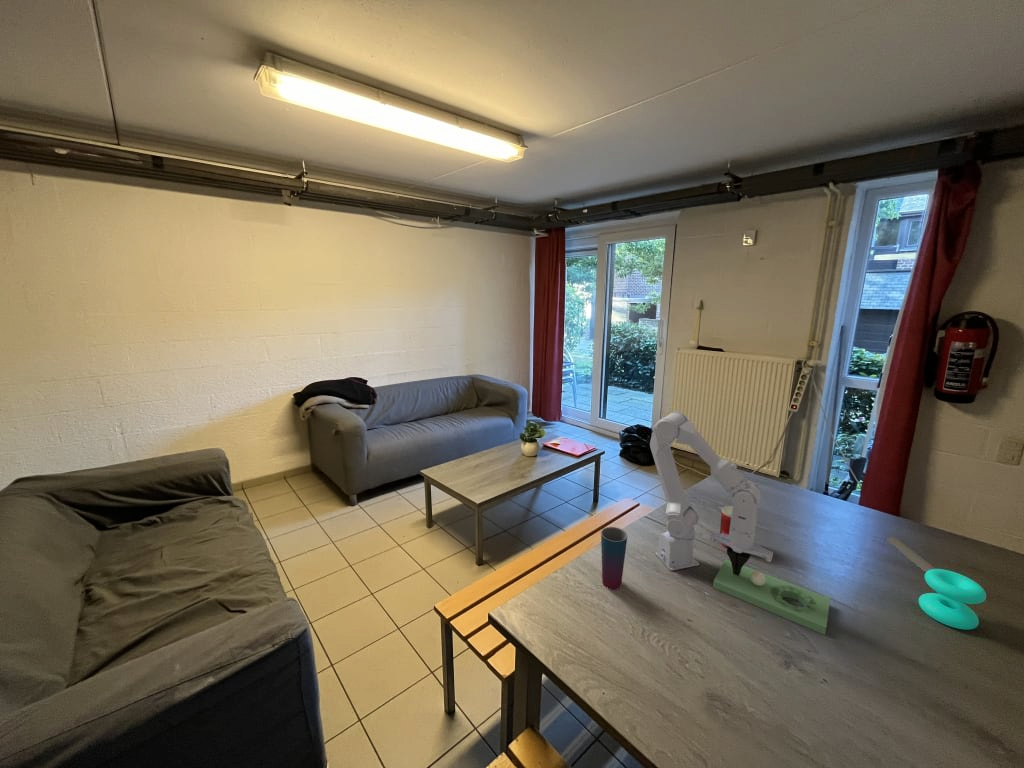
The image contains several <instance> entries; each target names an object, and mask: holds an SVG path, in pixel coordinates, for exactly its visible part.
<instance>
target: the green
mask: <svg viewBox="0 0 1024 768" xmlns="http://www.w3.org/2000/svg"><path fill="white" fill-rule="evenodd" d="M723 561H724V562H723V563H722V564H721V567H720V569H719V571H718V572H717V574H716V576H715V578H714V579H713V585H712V588H714V589H716V590H718V591H721V592H722V593H725V594H727V595H730V596H732V597H735V598H737V599H740V600H741V601H744V602H746V603H749V604H751V605H753V606H756V607H758V608H760V609H762V610H766V611H768V612H770V613H773V614H774V615H776V616H778V617H779V616H780V618H781V617H782V618H784V619H785V620H789V621H790V622H793V623H795V624H798V625H801V626H802V627H805V628H807V629H810V630H812V631H815V632H817V633H819V634H821V635H824V636H825V635H826V632H827V626H828V619H829V610H830V602H831V597H828V596H825V595H822V594H819V593H816V592H814V591H811V590H809V589H806V588H803V587H801V586H798V585H796V584H794V583H790V582H788V581H785V580H782V579H780V578H777V577H774V576H772V575H769V574H766V573H764V572H761V571H760V572H761V573H762V574H763V575H764V576H765V578H766V582H765V584H764V585H762V586H757V585H755V584H754V583H753V582H752V581H751V579H750V575H751V573H752V572H754V571H757V570H755V569H754V568H751V567H748V566H745V565H743V567H742V568H741V572H740V574H739V576H737V575H735V574H733V568H732V564H731V561H730V559H727V558H725V559H724V560H723ZM783 598H789V599H792V600H795V601H797V602H798V603H800V604H801V605H803V606H797V605H793V604H791V603H789V602H787V601H786V600H785V599H783Z"/></svg>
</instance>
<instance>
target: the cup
mask: <svg viewBox="0 0 1024 768" xmlns="http://www.w3.org/2000/svg"><path fill="white" fill-rule="evenodd" d="M600 537H601V538H600V540H601V541H600V542H601V546H600V547H601V582H602V583H601V584H602V585H603V586H604V588H607V587H608V588H607V589H609V588H611V589H610V590H618V589H620V588H621V587H620V586H622V580H623V573H624V564H625V560H626V559H625V558H626V550H627V545H628V543H627V542H628V533H627V532H626V531H625V530H624V529H622V528H620V527H616V526H607V527H605V528H603V529H601V531H600ZM617 588H618V589H617Z"/></svg>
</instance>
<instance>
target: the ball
mask: <svg viewBox="0 0 1024 768" xmlns="http://www.w3.org/2000/svg"><path fill="white" fill-rule="evenodd" d="M762 573H763V572H762ZM762 573H761V571H759V570H756V571H754V572H752V573H751V575H750V579H751V581H752V582H753V583H754V584H755V585H757V586H762V585H764V584H765V582H766V578H765V576H764V575H763V574H762Z"/></svg>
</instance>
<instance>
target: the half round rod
mask: <svg viewBox="0 0 1024 768" xmlns="http://www.w3.org/2000/svg"><path fill="white" fill-rule="evenodd" d="M886 540H887V541H889V542H888V543H889V544H890V543H891V544H892V545H893V546H895V547H896V548H897V549H899V551H898V552H900V551H901V552H902V553H903V554H904V555H905V556H904V557H906V558H907V559H908V560H909V559H910V560H909V561H910V562H912V563H913V562H914V563H915V564H916V565H915V564H914V563H913V564H914V565H915V566H917V567H918V568H919V567H920V568H921V569H920V568H919V569H920V570H922V571H923V572H924V571H925V572H927V571H928V570H931V569H937V568H936V567H935V566H933V564H931V563H930V562H928V561H927V560H926V559H924V558H923V557H922V556H921V555H919V554H918V553H917V552H916V551H914V550H913V549H912V548H911V547H909V546H908V545H906V543H904V542H902V541H901V540H900V539H898V538H897V537H894V536H891V537H888V538H887V539H886ZM887 541H886V542H887ZM891 544H890V545H891ZM892 545H891V546H892ZM893 546H892V547H893ZM895 547H894V548H895ZM896 548H895V549H896ZM897 549H896V550H897ZM901 552H900V553H901ZM902 553H901V554H902ZM903 554H902V555H903ZM925 572H924V573H925Z"/></svg>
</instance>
